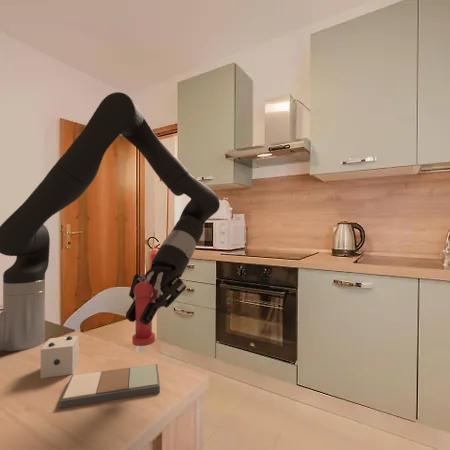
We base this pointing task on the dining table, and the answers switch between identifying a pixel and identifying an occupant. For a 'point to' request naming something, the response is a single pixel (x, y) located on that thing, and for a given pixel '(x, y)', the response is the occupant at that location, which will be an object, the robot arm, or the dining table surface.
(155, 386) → the board
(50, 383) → the dining table surface
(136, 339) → the pawn
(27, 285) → the robot arm
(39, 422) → the dining table surface
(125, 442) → the dining table surface
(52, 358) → the die
